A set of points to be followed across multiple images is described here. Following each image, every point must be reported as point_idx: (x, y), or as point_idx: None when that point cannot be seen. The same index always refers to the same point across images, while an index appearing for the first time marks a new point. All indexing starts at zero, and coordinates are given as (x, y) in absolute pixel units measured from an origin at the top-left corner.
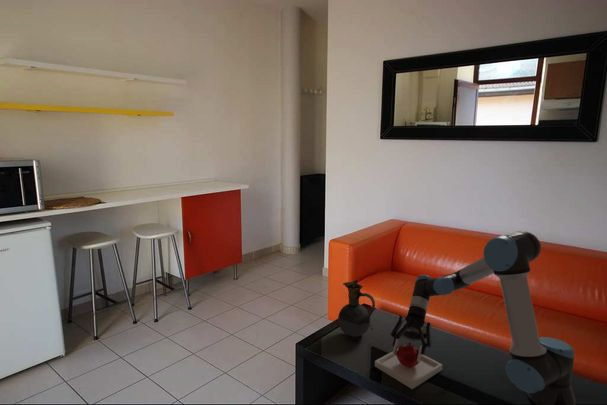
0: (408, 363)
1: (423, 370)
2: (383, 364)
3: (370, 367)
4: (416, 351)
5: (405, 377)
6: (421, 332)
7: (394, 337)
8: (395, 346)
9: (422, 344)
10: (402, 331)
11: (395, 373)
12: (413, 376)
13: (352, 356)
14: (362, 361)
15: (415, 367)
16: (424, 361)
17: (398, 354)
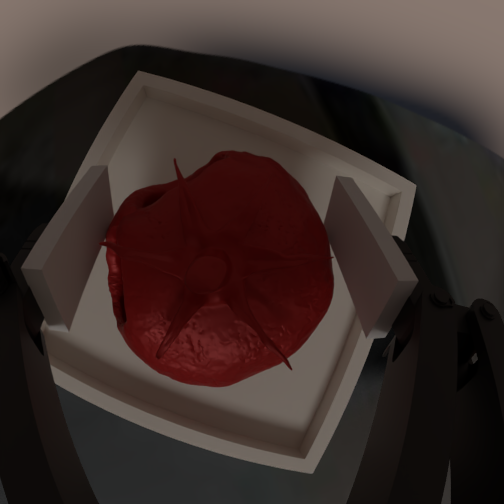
0: (189, 178)
1: (107, 270)
2: (362, 169)
3: (408, 175)
4: (124, 274)
5: (196, 138)
6: (4, 475)
7: (443, 290)
8: (366, 216)
9: (3, 260)
10: (412, 409)
11: (257, 108)
12: (151, 170)
13: (496, 231)
14: (456, 210)
15: None
16: (131, 380)
17: (297, 183)
